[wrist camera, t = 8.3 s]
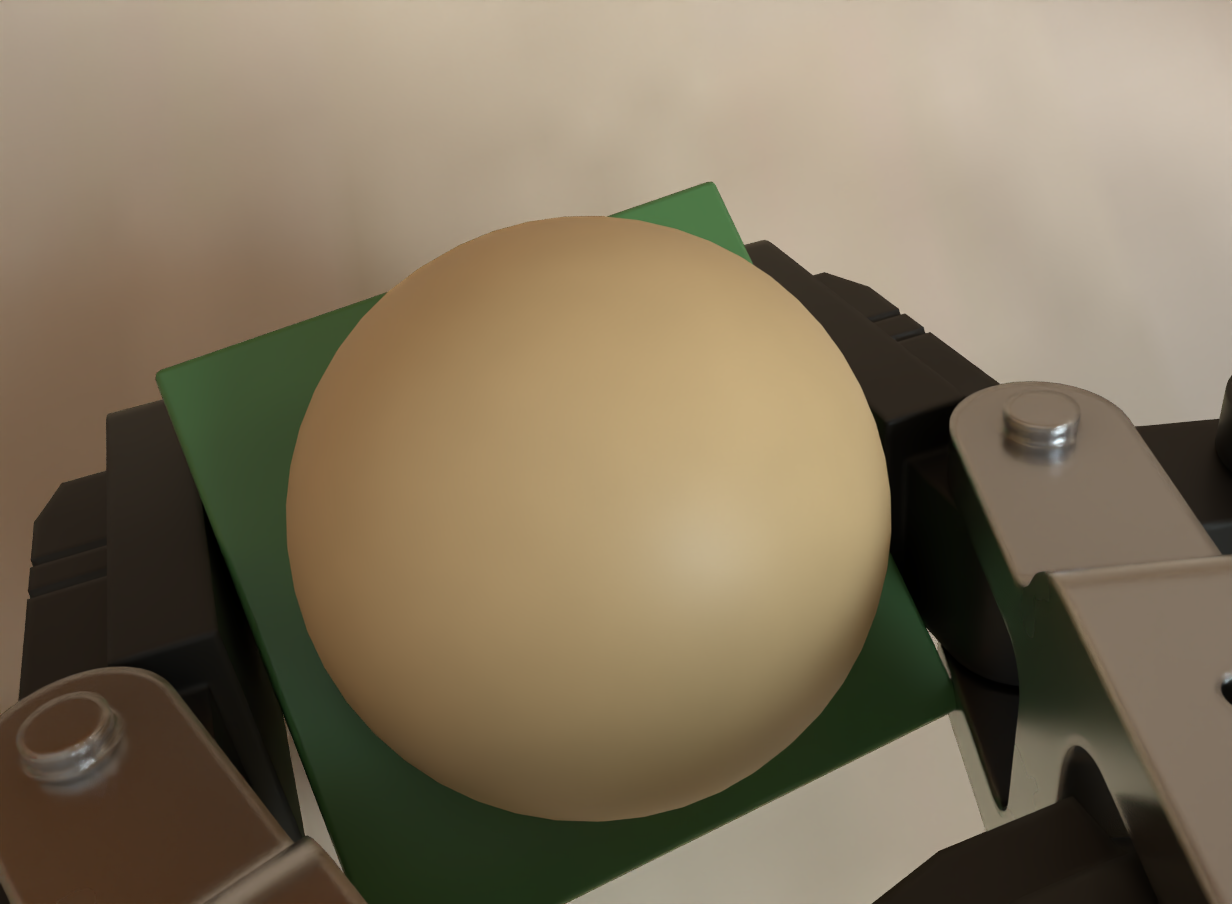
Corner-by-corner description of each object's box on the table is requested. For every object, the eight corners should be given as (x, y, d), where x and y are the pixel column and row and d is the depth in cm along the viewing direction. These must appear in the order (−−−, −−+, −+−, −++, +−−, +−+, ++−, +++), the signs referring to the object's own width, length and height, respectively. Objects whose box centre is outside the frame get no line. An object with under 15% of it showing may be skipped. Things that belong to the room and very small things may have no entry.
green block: (590, 408, 16) (842, -65, 7) (728, 720, 16) (1230, 688, 6) (266, 533, 15) (16, 180, 6) (399, 876, 14) (376, 1139, 5)
